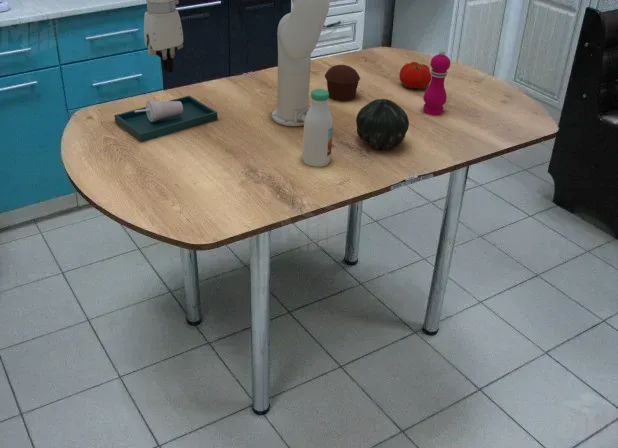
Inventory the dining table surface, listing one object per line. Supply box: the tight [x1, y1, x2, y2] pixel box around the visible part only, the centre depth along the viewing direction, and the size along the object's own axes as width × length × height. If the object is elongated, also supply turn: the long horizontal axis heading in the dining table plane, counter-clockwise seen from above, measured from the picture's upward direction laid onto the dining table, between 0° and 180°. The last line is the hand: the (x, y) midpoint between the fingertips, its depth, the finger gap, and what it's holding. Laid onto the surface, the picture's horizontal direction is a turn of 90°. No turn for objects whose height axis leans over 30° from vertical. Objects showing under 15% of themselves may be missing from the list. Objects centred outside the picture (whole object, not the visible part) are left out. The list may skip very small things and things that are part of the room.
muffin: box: [324, 64, 361, 102], centre depth 218 cm, size 12×11×10 cm
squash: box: [355, 98, 410, 151], centre depth 190 cm, size 14×15×15 cm
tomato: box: [399, 61, 432, 89], centre depth 229 cm, size 11×11×8 cm
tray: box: [113, 95, 219, 143], centre depth 199 cm, size 16×26×2 cm, turn 131°
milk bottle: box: [302, 88, 334, 167], centre depth 178 cm, size 8×8×20 cm
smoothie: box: [134, 99, 183, 122], centre depth 197 cm, size 6×6×14 cm
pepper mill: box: [422, 49, 451, 116], centre depth 209 cm, size 7×7×20 cm
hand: (168, 71), depth 192 cm, fingers closed
